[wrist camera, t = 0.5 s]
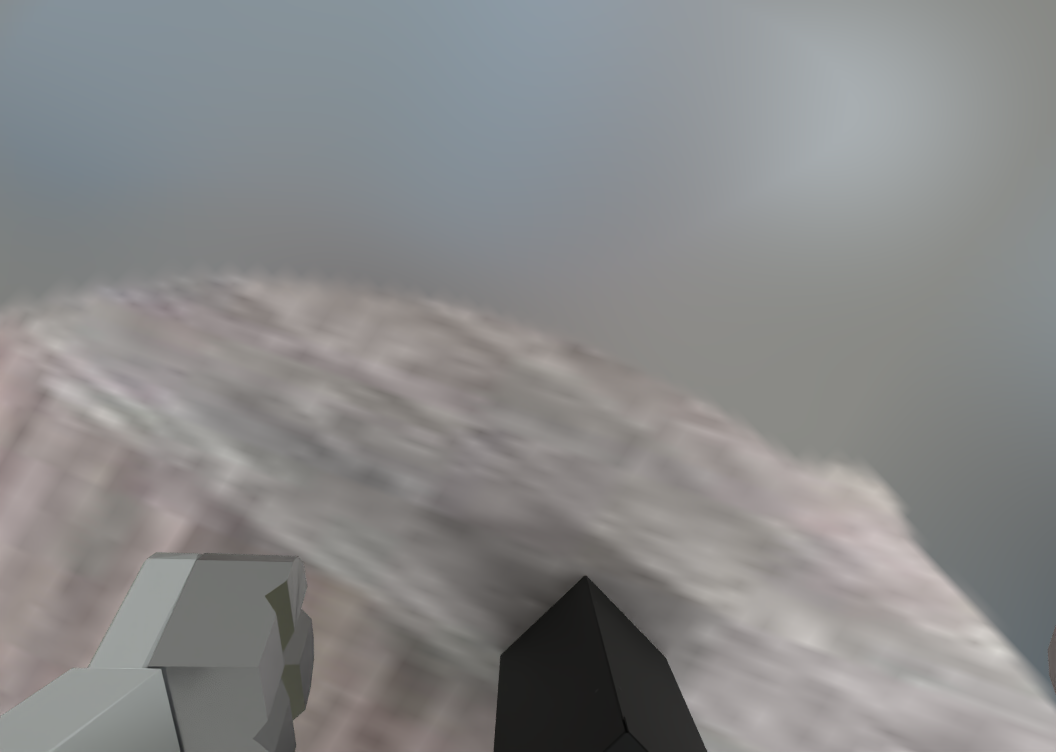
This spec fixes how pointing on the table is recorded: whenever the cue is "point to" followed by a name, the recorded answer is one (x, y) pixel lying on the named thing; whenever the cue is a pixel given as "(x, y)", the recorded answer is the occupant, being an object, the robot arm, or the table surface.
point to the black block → (589, 685)
